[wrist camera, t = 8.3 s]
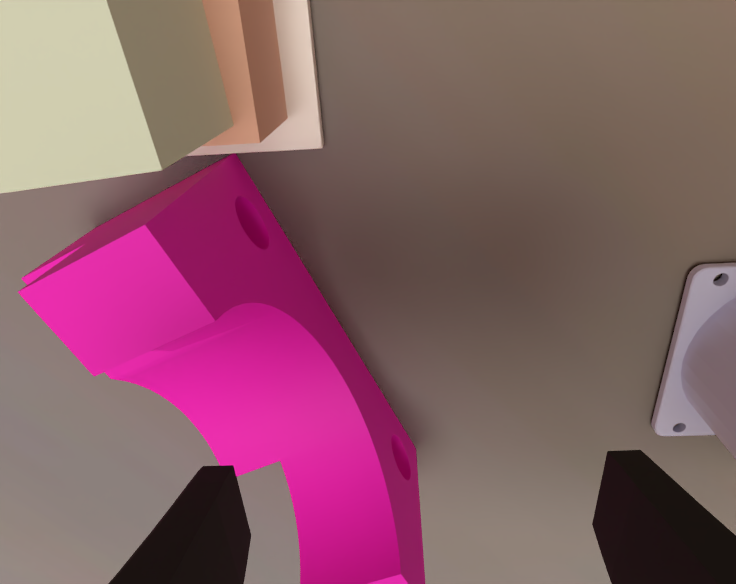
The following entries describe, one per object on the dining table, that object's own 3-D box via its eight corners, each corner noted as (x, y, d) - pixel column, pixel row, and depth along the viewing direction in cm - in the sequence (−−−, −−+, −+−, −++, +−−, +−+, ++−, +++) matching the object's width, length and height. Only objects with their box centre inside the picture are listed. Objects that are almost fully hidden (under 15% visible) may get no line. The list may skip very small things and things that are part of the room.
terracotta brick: (257, -117, 14) (211, -170, 10) (287, 118, 16) (260, 143, 13) (40, -99, 14) (-79, -142, 10) (106, 129, 17) (29, 156, 13)
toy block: (97, 226, 19) (-57, 331, 12) (236, 150, 18) (144, 224, 11) (299, 485, 25) (268, 651, 18) (415, 445, 24) (427, 609, 17)
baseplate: (293, -162, 14) (289, -170, 13) (323, 144, 17) (322, 148, 17) (6, -135, 14) (-9, -142, 13) (95, 157, 18) (86, 161, 17)
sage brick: (233, 125, 13) (162, 170, 9) (63, 151, 13) (-81, 205, 9) (176, -99, 11) (48, -178, 7) (-23, -61, 11) (-259, -112, 7)
